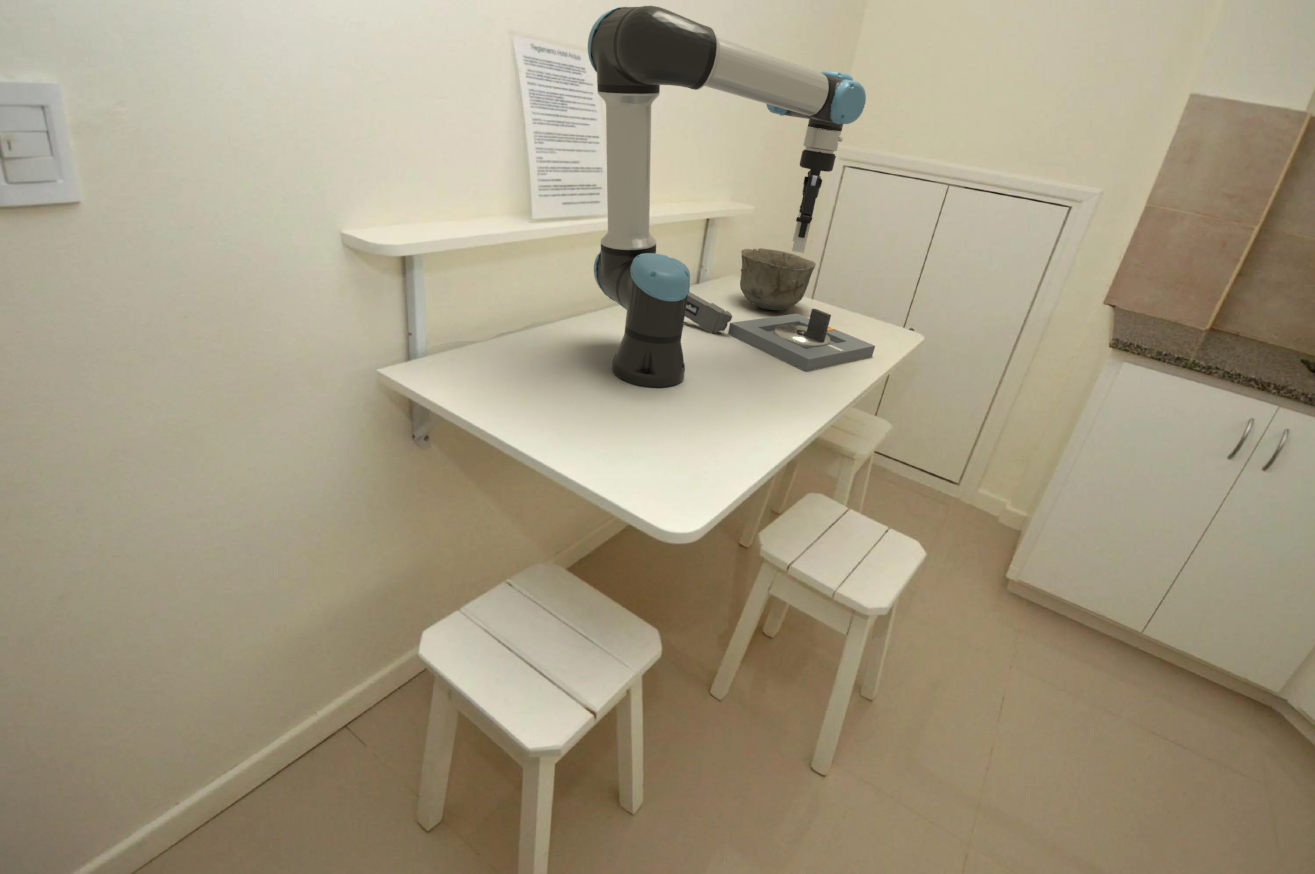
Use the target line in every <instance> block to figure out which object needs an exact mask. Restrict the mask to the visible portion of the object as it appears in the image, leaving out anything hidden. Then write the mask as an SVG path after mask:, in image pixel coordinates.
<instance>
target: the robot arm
mask: <svg viewBox="0 0 1315 874" xmlns="http://www.w3.org/2000/svg"><path fill="white" fill-rule="evenodd" d="M587 55H588V59H589V62H590V64H591V66H592V68H593V70H594V72H595V73H596V83H597V84H596V85H597V86H596V87H597V94H598V95H599V97H601V99H602V100H603V101H604V103H605V118H606V119H605V125H606V127H605V130H606V132H605V133H606V135H605V136H606V190H607V191H606V192H607V199H606V201H607V204H606V205H607V232H606V234H605V235H604V236H603V237H602V238H601V239H600V250H599V252H598V254H596V257H595V259H594V264H593V276H594V280H595V282H596V285H597V286H598V288H599V289H600V290H601V291H602V292H603V294H604V295H605V296H606V297H608V298H609V299H610V300H611V301H613V302H615V303H617V304H618V305H619V306H620V307H622V308H623V309H625V310H626V313H625V314H626V316H625V326H624V333H623V337H622V339H621V341H620V343H619V346H618V348H617V351H616V353H615V354H614V356H613V359H612V369H611V370H612V372H613V373H614V375H615V376H616V377H617V378H619V379H621V380H623V381H624V382H626V383H627V382H628V383H630V384H634V385H636V386H637V385H638V386H641V387H649V388H650V387H651V388H667V387H672V386H676V385H678V384H681V382H683V380H684V378H685V372H686V365H685V363H684V362H685V361H684V359H685V358H684V354H683V353H684V352H683V349H682V336H683V331H684V330H683V329H684V322H685V318H686V317H685V311H686V304H687V298H688V293H689V292H690V291H691V290H690V289H691V288H690V287H691V285H690V284H691V283H690V281H691V273H690V270H689V268H688V266H687V265H686V264H684V263H683V262H682V261H681V260H678V259H677V258H675V257H669V256H668V255H665V254H661V253H657V240H656V239H655V238H654V237H653V235H651V233H650V208H651V207H650V205H651V204H650V202H651V201H650V199H651V196H650V195H651V154H652V153H651V151H652V147H651V146H652V145H651V143H652V104H653V103H654V102H655V100H656V99H657V98H658V97H659V96H660V89H661V87H660V86H674V87H682V88H686V89H691V90H695V91H698V90H701V89H702V88H703V87H706V88H711V89H713V90H717V91H720V92H725V93H728V94H731V95H735V96H738V97H742V98H745V99H748V100H752V101H756V102H759V103H763V104H765V105H766V108H767V110H768V111H769V112H770V113H771V114H776V115H779V116H780V117H781V116H782V117H783V116H788V117H792V118H800V119H806V120H808V124H807V128H806V132H805V137H804V141H803V147H805V149H803V150H802V152H801V156H800V162H799V166H800V167H801V168H803V169H807V170H808V172H807V176H806V175H805V176H804V178H803V184H802V185H803V187H802V199H801V204H800V206H799V209H798V212H799V213H798V215H797V217H796V218H795V222H796V225H795V229H794V233H793V238H792V242H793V243H792V248H791V252H795V253H802V254H804V253H805V249H806V245H807V240H808V237H809V232H810V228H811V223H812V221H813V215H814V210H815V204H816V200H817V199H818V197H819V193H820V189H821V187H822V184H823V180H822V176H820V175H821V172H827V173H828V172H832V171H833V169H834V165H835V161H836V157H837V156H836V154H835V153H834V152H837V151H838V148H839V147H838V146H839V142H843V137H842V136H841V135H842V131H843V127H844V125H850V124H852V123H854V122H856V121H857V120H858V119H859V118H860V117H861V116H862V113H863V111H864V108H865V105H866V102H867V100H866V99H867V98H866V97H867V94H866V90H865V88H864V86H863V85H862V83H861V82H859V81H855V80H854V78H853V76H852V75H851V74H849V73H845V72H838V71H831V70H822V71H817V70H815V69H811V68H809V67H805V66H802V65H799V64H796V63H793V62H790V61H788V60H784V59H782V58H779V57H776V56H774V55H770V54H767V53H764V52H761V51H758V50H756V49H752V48H750V47H746V46H744V45H740V44H738V43H735V42H731V41H730V40H726V39H723V38H720V37H718V34H717V33H716V30H714V29H713V28H712V27H710V26H708V25H704V24H702V23H699V22H697V21H695V20H693V19H690V18H687V17H685V16H683V15H679V13H676V12H673V11H670V10H669V9H666V8H663V7H660V6H656V5H642V6H618V7H616V8H612V9H611V10H608V11H606V12H605V13H603V14H602V15H600V16H599V17H598V18H597V20H596V21H595V22H594V24H593V25H592V28H591V30H590V31H589V34H588V41H587Z"/></svg>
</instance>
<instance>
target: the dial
mask: <svg viewBox="0 0 1315 874" xmlns="http://www.w3.org/2000/svg"><path fill="white" fill-rule="evenodd" d="M831 317H832V314H830V313H828V312H825V311H823V310H820V309H818V308H812V309H811V311H810V317H809V323H808V327H805V326H800V325H779V326H777V327H775V330H774V335H776V336H778V337H781V338H783V339H785V340H787V341H790V342H792V343H794V344H796V345H798V346H801V347H803V348H805V349H809V348H814V347H820V346H825V345H829V342H830V337H829V336H828V335H827V334H826V333H827V329H828V327H829V324H830V321H831Z"/></svg>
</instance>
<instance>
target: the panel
mask: <svg viewBox="0 0 1315 874" xmlns="http://www.w3.org/2000/svg"><path fill="white" fill-rule="evenodd" d="M809 319H810V317H809V318H808V317H806V316H804V315H801V314H800V313H792V314H790V313H789V314H786V315H783V314H782V315H778V316H769V317H763V318H756V319H747V320H739V321H733V322H729V327H728V331H727V332H728V333H727V335H729V336H731V337H733V338H736V339H738V340H740V341H741V342H744V343H746V344H747V345H749V346H751V347H754V348H757V350H760V351H762V352H765V353H766V354H769V355H771V356H772V357H775V358H777V359H779V360H781V361H783V362H785V363H787V364H789V365H792V366H794V367H795V368H798V369H800V370H801V371H804V372H810V371H815V370H819V369H823V368H828V367H833V366H836V365H841V364H847V363H851V362H855V361H859V360H864V359H869V358H872V357H873V354H874V351H875V349H876V345H874V344H872V343H870V342H867V341H864V340H863V339H860V338H857V337H855V336H853V335H850V334H848V333H845V332H843V331H840V330H838V329H836V328H833V327H831V326H828V329H827V333H826V334H827V335H828V336H829V337H830V342H829V345H825V346H820V347H814V348H809V349H805V348H803V347H801V346H798V345H796V344H794V343H792V342H790V341H787V340H785V339H783V338H781V337H778V336H776V335H774V330H775V327H777V326H779V325H800V326H805V327H808V323H809Z"/></svg>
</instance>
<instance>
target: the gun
mask: <svg viewBox="0 0 1315 874" xmlns="http://www.w3.org/2000/svg"><path fill="white" fill-rule="evenodd" d="M684 318H687V319H688V320H690V321H691V322H692V323H694V324H696V325H698V326H699V327H700V328H701V329H702V330H703V331H704V332H706V333H708V334H713V333H714V334H717V333H719V332H720V331H721V332H724V331H725V330H726V329H727V327H728V323H731V321H732V318H733V315H732V313H731V312H730V311H728V310H725V309H724V308H722V307H721V306H719V305H717V304H715V303H714V302H708V301H706V300H705V299H703V298H701V297H700V296H697V295H696V294H695V293H693V292H690V291H689V293H688V298H687V304H686V311H685V317H684Z"/></svg>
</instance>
